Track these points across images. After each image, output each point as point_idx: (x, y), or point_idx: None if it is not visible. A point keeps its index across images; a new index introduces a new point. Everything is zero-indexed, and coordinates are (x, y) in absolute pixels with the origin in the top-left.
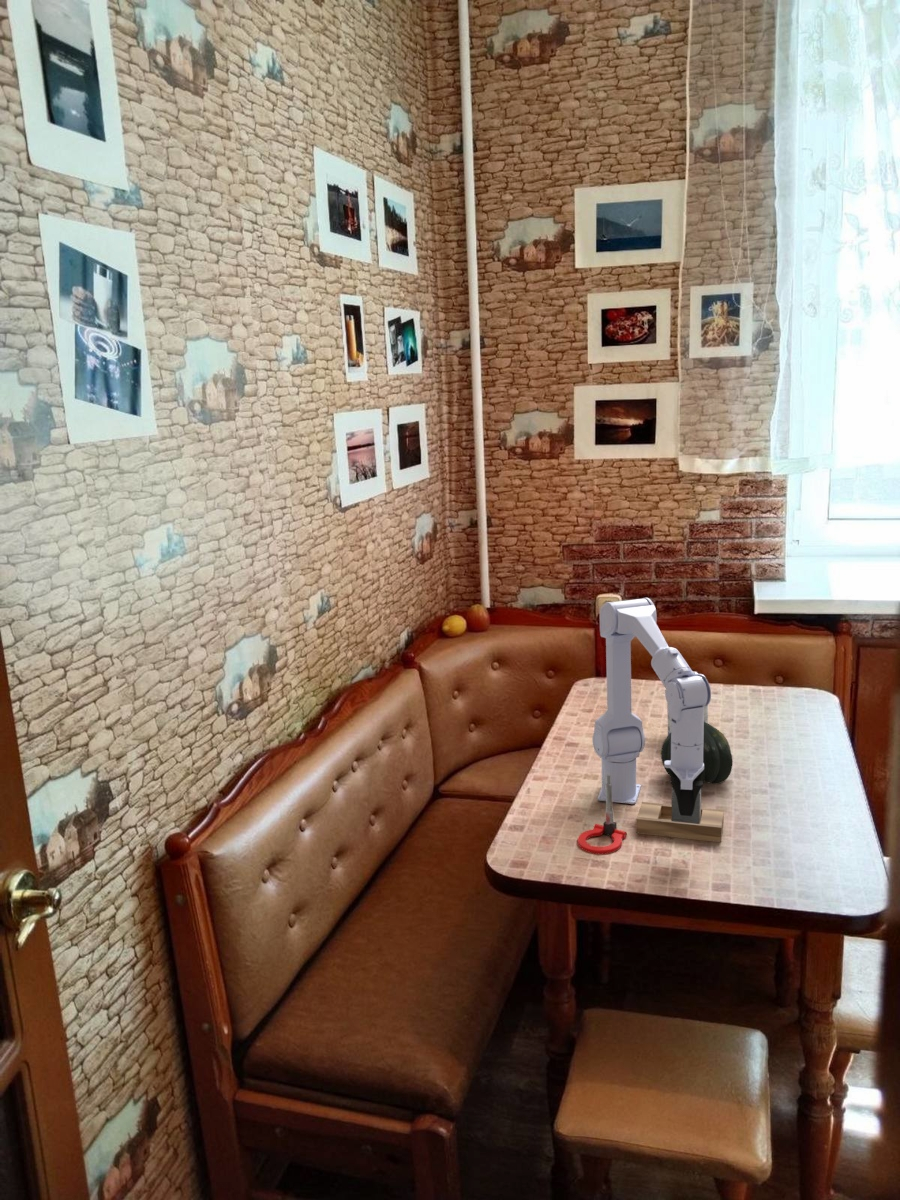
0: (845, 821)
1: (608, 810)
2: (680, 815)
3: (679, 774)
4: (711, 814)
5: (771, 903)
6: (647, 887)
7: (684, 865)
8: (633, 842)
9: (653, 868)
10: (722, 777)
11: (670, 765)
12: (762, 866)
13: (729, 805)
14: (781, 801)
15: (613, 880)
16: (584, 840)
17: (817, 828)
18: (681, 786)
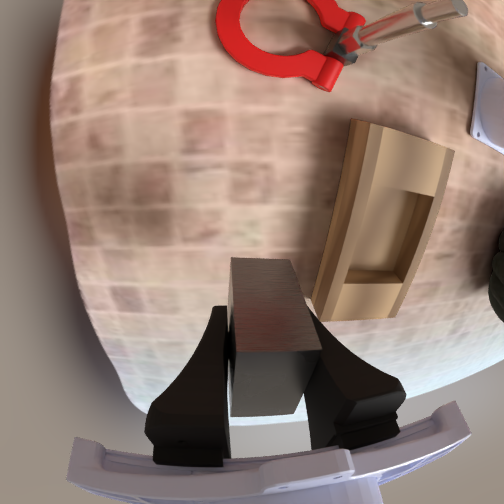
0: None
1: (360, 31)
2: (229, 299)
3: (117, 493)
4: (381, 300)
5: (113, 353)
6: (73, 167)
7: (192, 236)
8: (298, 108)
9: (159, 167)
10: (490, 295)
11: (255, 492)
12: None
13: (437, 299)
14: (425, 351)
15: (83, 87)
16: None
17: None
18: (72, 449)
